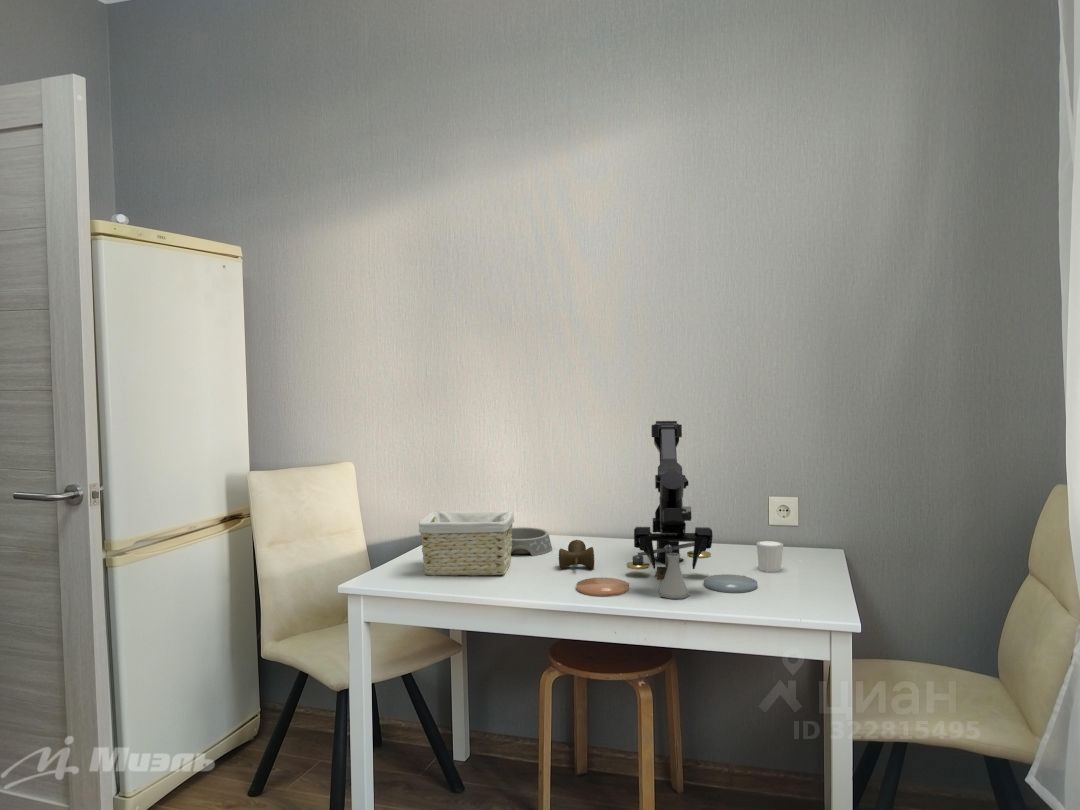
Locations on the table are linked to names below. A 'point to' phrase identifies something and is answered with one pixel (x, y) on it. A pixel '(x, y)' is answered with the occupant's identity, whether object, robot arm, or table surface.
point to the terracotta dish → (602, 586)
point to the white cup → (769, 555)
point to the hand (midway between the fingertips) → (674, 568)
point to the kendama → (576, 555)
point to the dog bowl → (530, 541)
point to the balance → (661, 571)
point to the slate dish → (730, 583)
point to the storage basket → (466, 542)
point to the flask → (673, 580)
